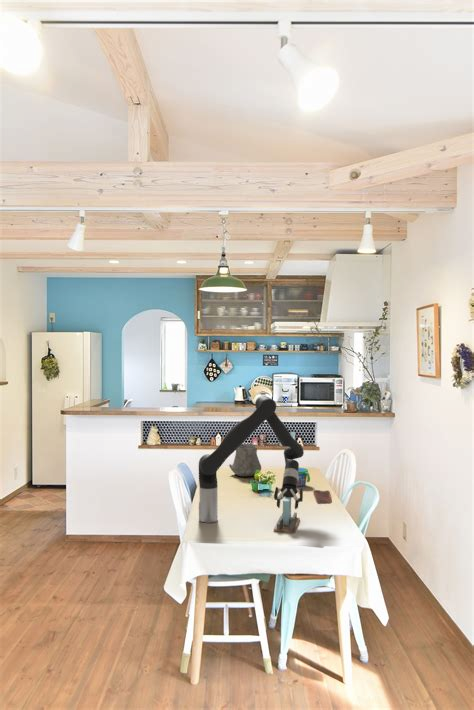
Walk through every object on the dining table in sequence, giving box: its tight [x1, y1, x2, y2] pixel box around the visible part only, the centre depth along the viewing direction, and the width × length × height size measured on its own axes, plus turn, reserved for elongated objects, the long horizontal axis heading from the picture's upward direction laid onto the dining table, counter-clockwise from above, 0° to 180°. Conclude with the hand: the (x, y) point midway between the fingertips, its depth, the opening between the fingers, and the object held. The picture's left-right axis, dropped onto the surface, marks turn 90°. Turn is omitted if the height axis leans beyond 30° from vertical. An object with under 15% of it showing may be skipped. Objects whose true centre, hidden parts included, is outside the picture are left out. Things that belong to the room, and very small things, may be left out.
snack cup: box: [297, 467, 311, 487], centre depth 344 cm, size 16×10×10 cm
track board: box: [273, 512, 301, 534], centre depth 269 cm, size 10×20×4 cm, turn 166°
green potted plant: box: [249, 470, 263, 492], centre depth 335 cm, size 11×9×11 cm
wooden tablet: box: [313, 489, 333, 505], centre depth 318 cm, size 26×2×10 cm
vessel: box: [228, 444, 262, 478], centre depth 371 cm, size 22×22×20 cm
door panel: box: [282, 497, 292, 526], centre depth 269 cm, size 3×7×12 cm, turn 166°
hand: (287, 507), depth 268 cm, fingers open, 8 cm apart
